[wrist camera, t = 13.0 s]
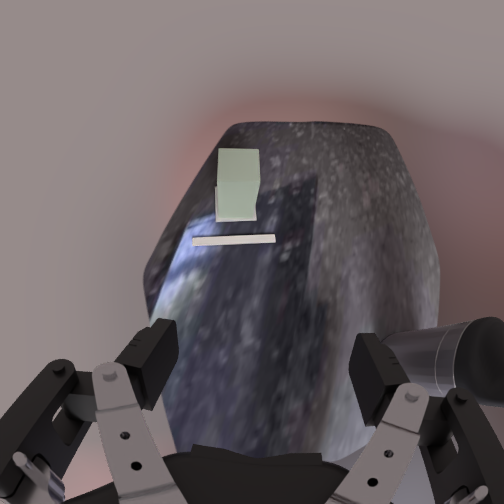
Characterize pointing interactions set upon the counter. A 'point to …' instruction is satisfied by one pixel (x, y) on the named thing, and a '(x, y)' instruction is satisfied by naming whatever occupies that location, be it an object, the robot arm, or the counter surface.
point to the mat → (230, 218)
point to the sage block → (237, 182)
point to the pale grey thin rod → (233, 240)
